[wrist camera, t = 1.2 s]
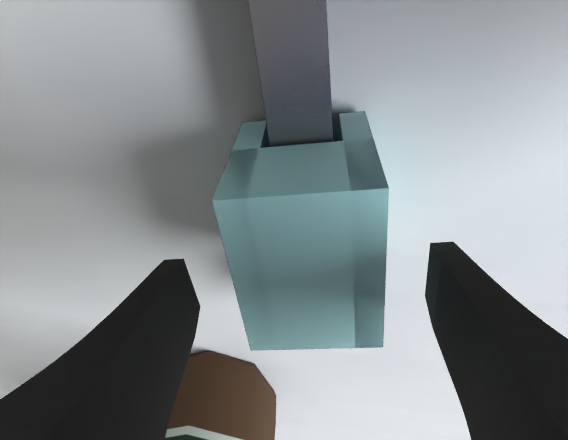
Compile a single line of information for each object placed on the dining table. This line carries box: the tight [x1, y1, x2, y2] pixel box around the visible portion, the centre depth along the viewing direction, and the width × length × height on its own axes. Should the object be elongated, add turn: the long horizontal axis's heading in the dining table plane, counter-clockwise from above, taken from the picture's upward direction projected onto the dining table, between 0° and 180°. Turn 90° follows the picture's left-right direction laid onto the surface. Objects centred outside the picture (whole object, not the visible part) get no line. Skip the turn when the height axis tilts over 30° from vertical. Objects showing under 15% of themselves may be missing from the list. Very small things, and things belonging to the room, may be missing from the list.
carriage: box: [212, 111, 389, 350], centre depth 14 cm, size 4×6×5 cm
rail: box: [248, 0, 333, 147], centre depth 13 cm, size 4×15×3 cm, turn 7°
